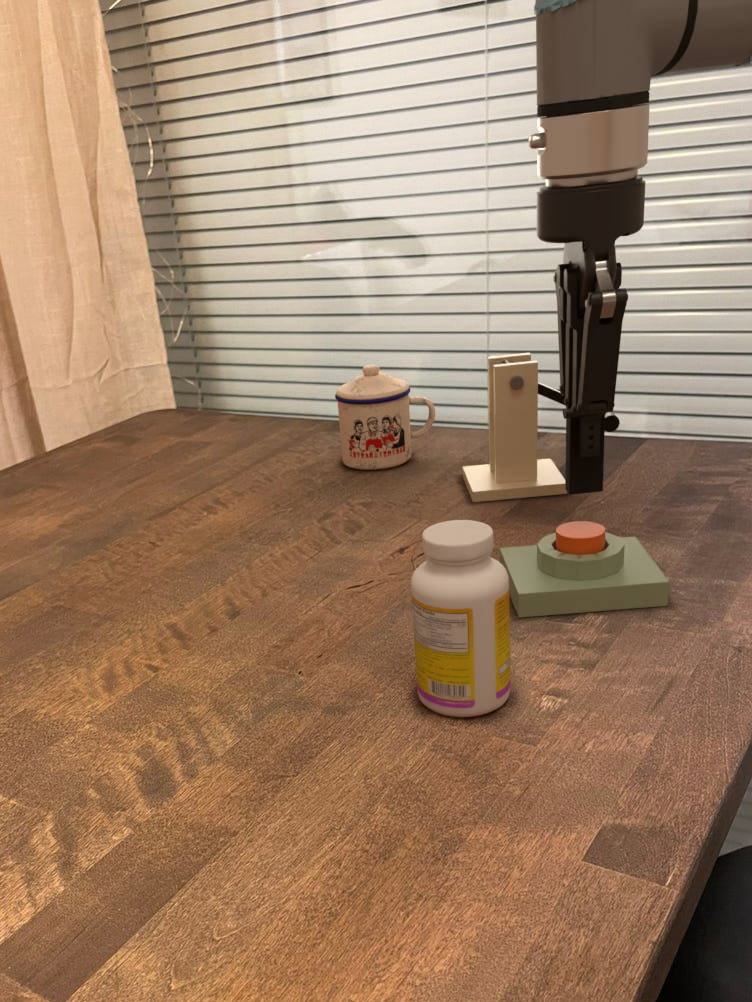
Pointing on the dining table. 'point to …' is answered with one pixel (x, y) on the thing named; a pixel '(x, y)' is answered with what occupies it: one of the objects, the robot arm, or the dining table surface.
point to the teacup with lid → (377, 420)
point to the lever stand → (513, 437)
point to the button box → (583, 578)
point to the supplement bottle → (461, 621)
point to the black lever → (555, 395)
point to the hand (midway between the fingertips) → (583, 489)
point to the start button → (580, 538)
